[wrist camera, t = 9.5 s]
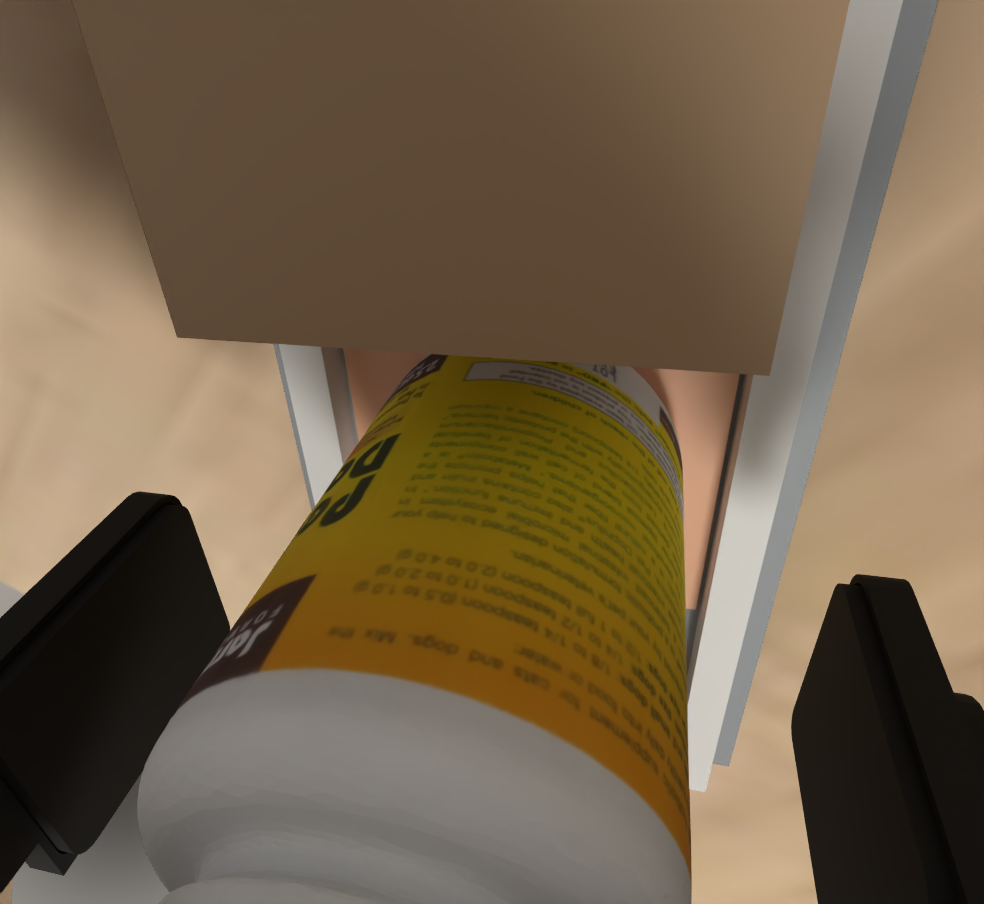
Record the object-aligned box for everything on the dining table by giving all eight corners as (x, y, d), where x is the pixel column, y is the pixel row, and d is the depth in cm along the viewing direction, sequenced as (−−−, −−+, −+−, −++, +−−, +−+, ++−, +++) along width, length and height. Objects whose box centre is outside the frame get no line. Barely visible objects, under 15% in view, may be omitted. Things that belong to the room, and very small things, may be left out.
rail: (211, -125, 10) (-229, -223, 5) (957, -184, 8) (1386, -428, 3) (371, 668, 20) (272, 893, 15) (725, 724, 18) (745, 1003, 13)
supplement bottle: (439, 259, 11) (-173, 990, 3) (744, 393, 12) (931, 1422, 3) (362, 495, 15) (-37, 1158, 6) (601, 597, 15) (514, 1370, 7)
